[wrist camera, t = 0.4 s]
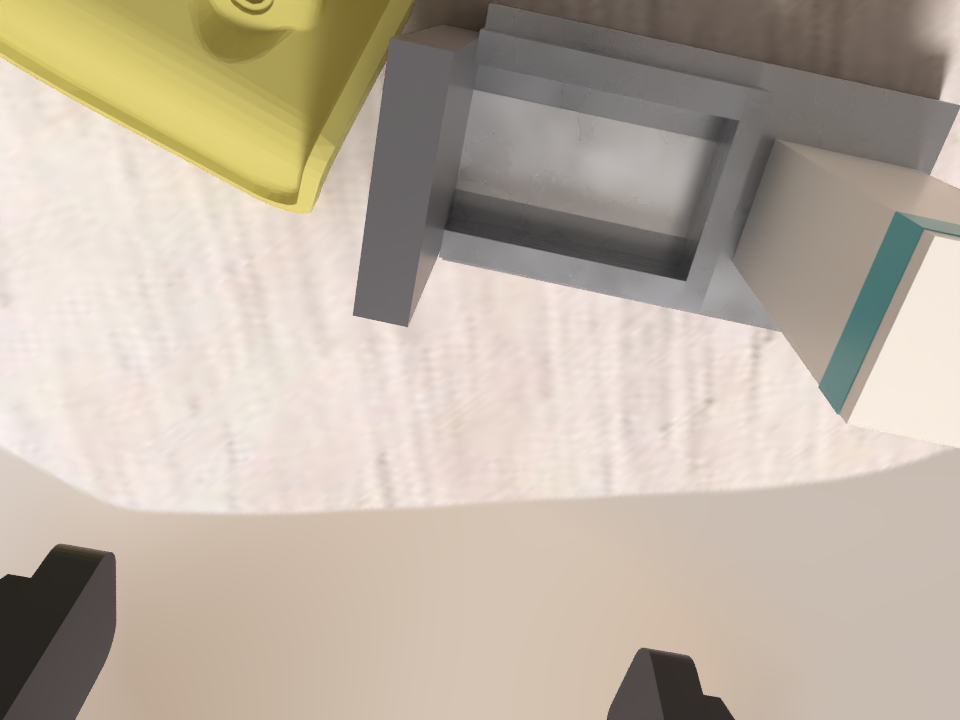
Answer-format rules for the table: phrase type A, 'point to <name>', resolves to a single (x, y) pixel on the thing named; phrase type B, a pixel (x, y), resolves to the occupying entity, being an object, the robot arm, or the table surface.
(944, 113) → the rail plate
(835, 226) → the block
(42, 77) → the plastic component
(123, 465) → the table surface
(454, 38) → the end stop
